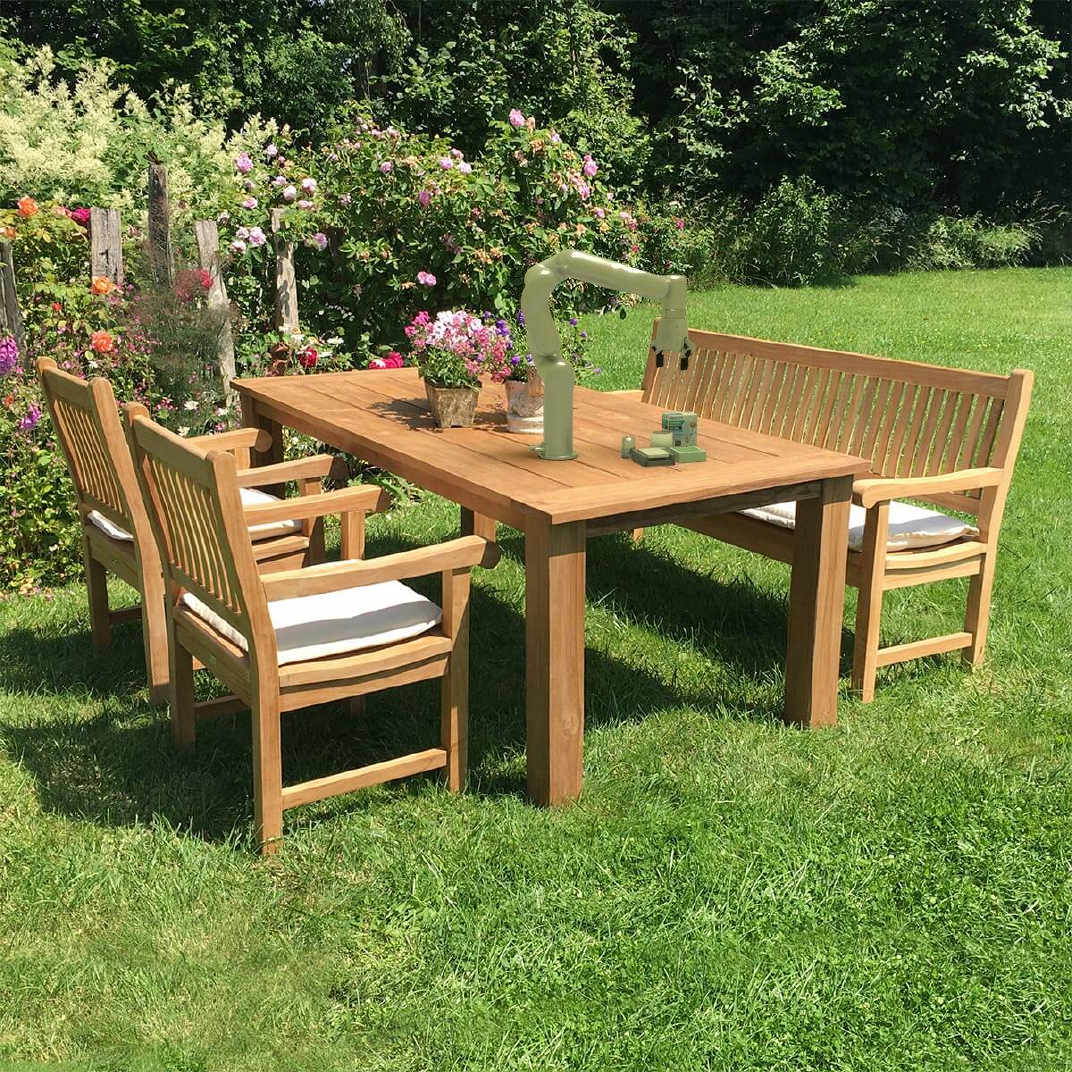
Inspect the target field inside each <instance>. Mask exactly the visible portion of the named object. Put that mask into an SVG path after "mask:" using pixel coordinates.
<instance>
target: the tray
mask: <svg viewBox="0 0 1072 1072" xmlns="http://www.w3.org/2000/svg"><path fill="white" fill-rule="evenodd" d="M669 452H670V453H672V454H674V455H675V462H677V463H679V464H683V462H686V463H698V462H697V461H701V462H706V461H707V450H704V449H702V448H700V447H698V446H697V445H696V446H687V447H672V448H669Z"/></svg>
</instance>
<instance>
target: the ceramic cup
mask: <svg viewBox="0 0 1072 1072" xmlns="http://www.w3.org/2000/svg"><path fill="white" fill-rule="evenodd" d="M672 434H673V433H672V432H670V431H662V430H654V431H653V430H652V431H650V446H649V448H658V447H664V448H665V450H667V451H669V448H673V447H672Z"/></svg>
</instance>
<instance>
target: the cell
mask: <svg viewBox="0 0 1072 1072" xmlns="http://www.w3.org/2000/svg"><path fill="white" fill-rule="evenodd" d="M632 449H635V450H636V436H633V435H624V436H623V435H622V436H621V450H620V451H621V454H620V455H621V457H620V458H621V459H625V460H632V459H631V455H632Z"/></svg>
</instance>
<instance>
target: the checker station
mask: <svg viewBox="0 0 1072 1072" xmlns="http://www.w3.org/2000/svg"><path fill="white" fill-rule="evenodd" d="M658 448H660V449H662V450H663V451H665V452H667V453H669V457H660V458H648V457H647V456H646V455H644V454H642V453H640V452H639V451H637V449H636V448H635V449H632V455H631V459H630V460H632V461H633V462H635V463H637V464H639V465H640V466H642V467H644V468H650V467H651V468H653V467H665V466H667V467H668V466H675V465H676V461H675V455H674V454H672V453H670V452H669V451H667V450H665V448H664V447H658Z"/></svg>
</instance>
